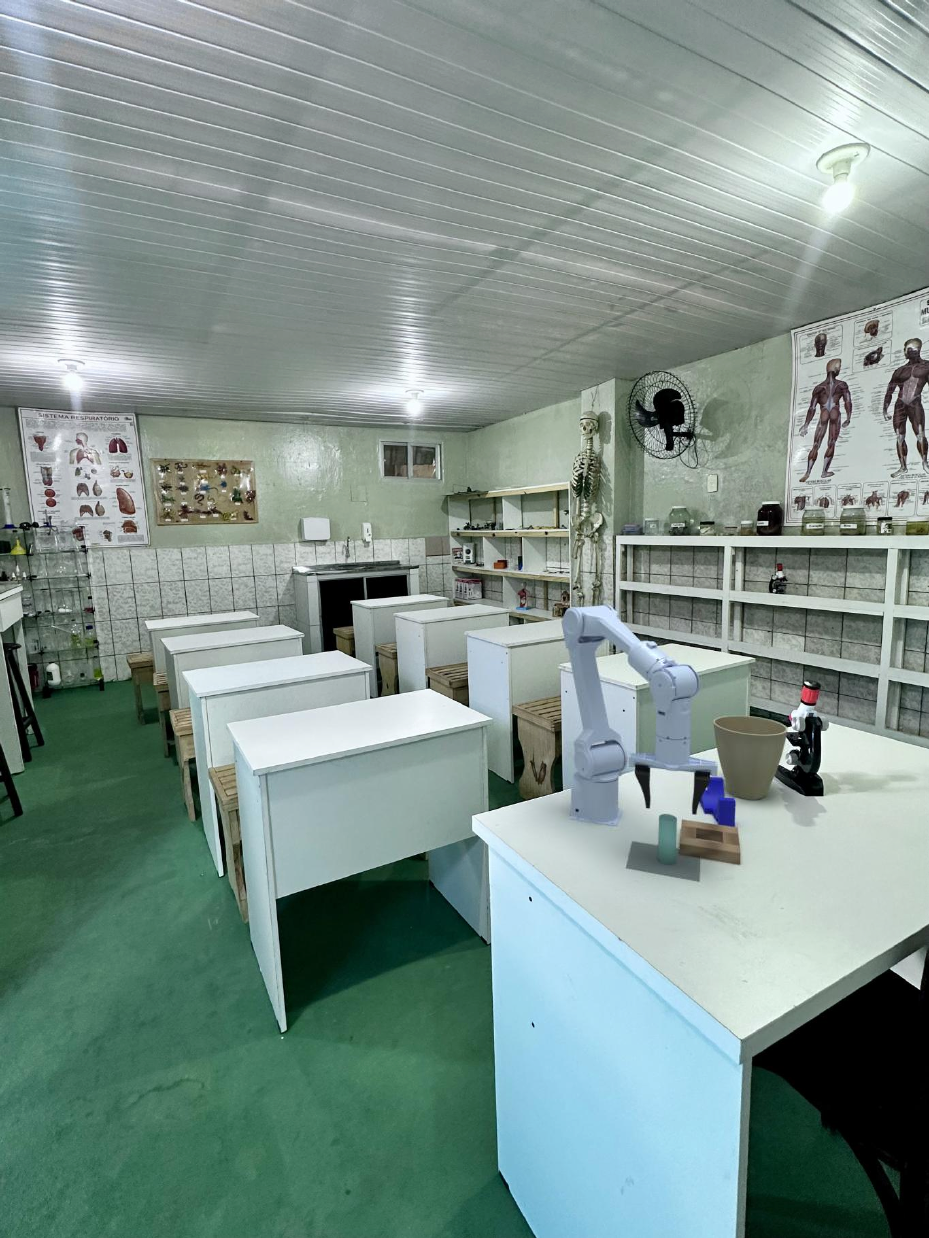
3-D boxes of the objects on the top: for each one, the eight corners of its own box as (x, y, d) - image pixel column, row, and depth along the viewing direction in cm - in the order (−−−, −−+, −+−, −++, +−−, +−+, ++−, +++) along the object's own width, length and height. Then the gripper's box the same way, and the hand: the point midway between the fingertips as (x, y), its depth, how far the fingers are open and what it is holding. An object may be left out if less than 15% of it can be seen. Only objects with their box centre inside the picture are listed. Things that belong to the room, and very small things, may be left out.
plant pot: (799, 804, 128) (803, 732, 126) (735, 809, 126) (737, 737, 124) (757, 777, 142) (760, 713, 140) (698, 781, 140) (700, 716, 138)
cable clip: (699, 802, 130) (700, 776, 129) (721, 803, 129) (722, 777, 128) (710, 828, 118) (711, 799, 118) (734, 829, 117) (735, 801, 117)
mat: (625, 870, 103) (625, 867, 103) (632, 843, 113) (632, 841, 113) (699, 883, 99) (699, 881, 99) (700, 854, 108) (700, 852, 108)
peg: (657, 863, 105) (658, 820, 104) (658, 854, 108) (659, 812, 106) (675, 866, 104) (676, 822, 103) (676, 857, 106) (677, 815, 105)
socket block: (679, 856, 108) (679, 843, 107) (681, 831, 117) (681, 819, 116) (739, 866, 104) (740, 853, 104) (737, 839, 113) (737, 827, 113)
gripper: (627, 737, 102) (626, 813, 103) (719, 746, 97) (716, 825, 98) (631, 725, 108) (629, 796, 110) (717, 733, 103) (714, 807, 105)
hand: (670, 809), depth 105 cm, fingers open, 7 cm apart
